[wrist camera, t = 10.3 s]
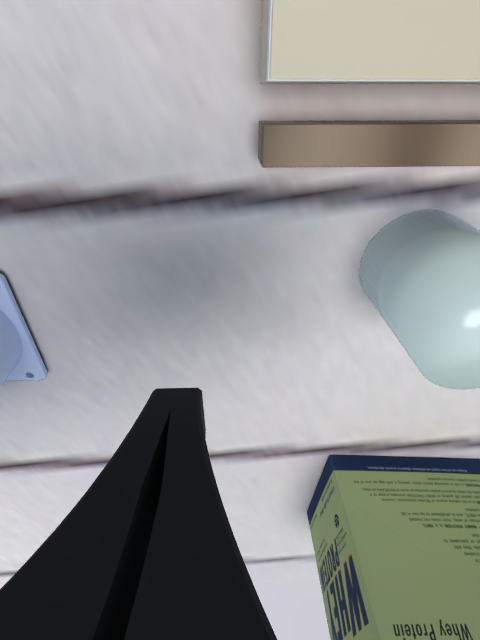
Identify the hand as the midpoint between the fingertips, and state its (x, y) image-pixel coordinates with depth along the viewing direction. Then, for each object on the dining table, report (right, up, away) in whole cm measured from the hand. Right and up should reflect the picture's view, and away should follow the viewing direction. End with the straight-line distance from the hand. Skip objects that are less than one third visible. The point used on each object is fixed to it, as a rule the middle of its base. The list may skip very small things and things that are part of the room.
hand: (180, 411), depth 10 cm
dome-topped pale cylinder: (+12, +6, +9) cm, 16 cm away
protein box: (+17, -14, +23) cm, 31 cm away
